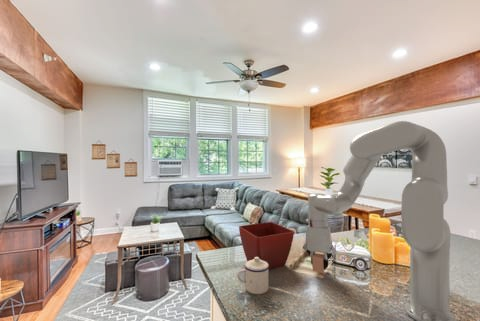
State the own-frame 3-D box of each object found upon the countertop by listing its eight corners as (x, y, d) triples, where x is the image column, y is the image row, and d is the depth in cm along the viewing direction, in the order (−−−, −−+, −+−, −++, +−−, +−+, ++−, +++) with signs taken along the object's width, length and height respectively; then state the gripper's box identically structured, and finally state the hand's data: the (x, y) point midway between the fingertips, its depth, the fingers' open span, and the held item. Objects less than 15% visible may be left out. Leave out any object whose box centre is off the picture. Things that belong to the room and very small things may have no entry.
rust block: (322, 273, 97) (322, 258, 97) (312, 271, 99) (312, 256, 99) (326, 266, 103) (326, 252, 103) (317, 264, 105) (316, 251, 105)
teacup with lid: (266, 281, 96) (266, 252, 96) (271, 294, 87) (271, 262, 87) (236, 283, 95) (236, 253, 95) (238, 296, 86) (237, 263, 86)
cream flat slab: (323, 280, 97) (323, 272, 97) (289, 271, 104) (289, 264, 104) (333, 261, 115) (333, 255, 115) (304, 255, 122) (304, 249, 122)
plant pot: (295, 269, 107) (295, 231, 107) (258, 278, 99) (257, 237, 99) (271, 254, 124) (271, 221, 124) (238, 261, 116) (237, 226, 116)
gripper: (296, 223, 103) (297, 266, 102) (337, 227, 94) (339, 275, 94) (301, 219, 109) (302, 260, 109) (341, 223, 100) (342, 267, 100)
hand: (319, 266), depth 101 cm, fingers closed on rust block, 4 cm apart
